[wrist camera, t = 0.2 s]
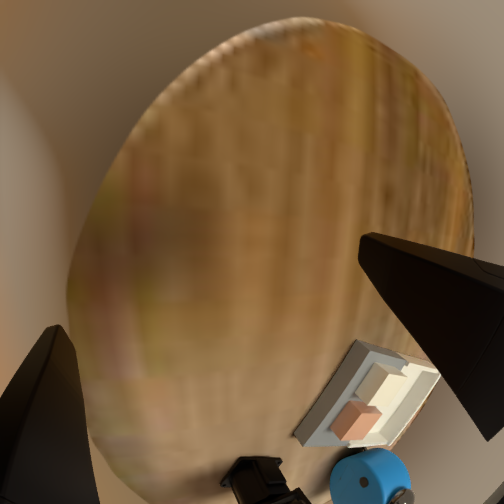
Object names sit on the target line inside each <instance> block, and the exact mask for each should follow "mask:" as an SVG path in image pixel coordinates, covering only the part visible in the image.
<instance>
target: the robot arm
mask: <svg viewBox="0 0 504 504" xmlns="http://www.w3.org/2000/svg"><path fill="white" fill-rule="evenodd" d="M358 261H359V264H360V266H361V267H362V269H363V270H364V272H365V273H366V275H367V276H368V278H369V279H370V281H371V282H372V284H373V285H374V287H375V288H376V290H377V291H378V293H379V294H380V296H381V297H382V298H383V300H384V301H385V303H386V304H387V305H388V306H389V308H390V309H391V310H392V311H393V313H394V314H395V315H396V316H397V318H398V319H399V320H400V321H401V323H402V324H403V325H404V326H405V328H406V329H407V330H408V332H409V333H410V334H411V335H412V337H413V338H414V339H415V341H416V342H417V343H418V345H419V346H420V347H421V348H422V350H423V351H424V352H425V354H426V355H427V356H428V358H429V359H430V360H431V362H432V363H433V364H434V366H435V367H436V369H437V370H438V371H439V373H440V374H441V375H442V377H443V378H444V380H445V381H446V382H447V384H448V385H449V386H450V388H451V389H452V391H453V392H454V394H455V395H456V397H457V398H458V399H459V401H460V402H461V404H462V405H463V407H464V408H465V410H466V411H467V412H468V414H469V416H470V417H471V419H472V420H473V422H474V423H475V425H476V426H477V428H478V429H479V431H480V432H481V434H482V435H483V437H484V438H485V440H486V441H487V442H488V441H489V440H490V439H492V438H493V437H494V436H495V435H496V434H497V433H498V432H499V431H500V430H501V429H502V428H503V427H504V266H500V265H496V264H493V263H489V262H485V261H482V260H478V259H475V258H471V257H467V256H464V255H460V254H457V253H453V252H449V251H446V250H442V249H438V248H434V247H431V246H427V245H423V244H419V243H415V242H411V241H407V240H403V239H399V238H395V237H391V236H387V235H383V234H379V233H375V232H371V233H367V234H364V235H362V236H361V238H360V244H359V253H358ZM282 462H283V461H282V459H281V458H250V457H242V458H239V459H238V461H237V462H236V463H235V465H234V466H233V467H232V468H231V470H230V471H229V472H228V474H227V475H226V476H225V477H224V479H223V480H222V481H221V482H220V486H221V487H231V488H232V490H233V493H234V495H235V497H236V500H237V502H238V504H311V502H310V501H309V500H308V499H307V497H306V496H305V495H304V493H303V492H302V491H301V489H300V488H299V487H298V488H296V489H295V490H293V491H290V490H289V488H288V486H287V485H286V482H287V481H286V479H285V478H284V476H283V474H282V473H281V471H280V469H279V466H280V465H281V463H282ZM0 504H100V501H99V497H98V492H97V487H96V483H95V477H94V472H93V467H92V461H91V455H90V448H89V441H88V434H87V426H86V417H85V407H84V399H83V393H82V388H81V382H80V376H79V370H78V363H77V356H76V351H75V348H74V346H73V344H72V342H71V341H70V339H69V337H68V336H67V334H66V332H65V331H64V329H63V327H62V326H61V325H54V326H50V327H47V328H46V329H45V330H44V332H43V333H42V335H41V336H40V338H39V339H38V340H37V342H36V343H35V345H34V346H33V348H32V349H31V350H30V352H29V353H28V355H27V356H26V358H25V359H24V361H23V363H22V364H21V365H20V367H19V369H18V370H17V371H16V373H15V375H14V376H13V378H12V379H11V381H10V382H9V384H8V386H7V387H6V389H5V391H4V392H3V394H2V396H1V397H0ZM483 504H504V482H503V483H502V484H501V485H500V486H499V487H498V489H497V490H496V491H495V492H494V493H493V494H492V495H491V496H490V497H489V498H488V499H487V500H486V501H485V502H484V503H483Z"/></svg>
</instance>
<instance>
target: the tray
mask: <svg viewBox="0 0 504 504" xmlns="http://www.w3.org/2000/svg"><path fill="white" fill-rule="evenodd" d="M396 353H397V354H399V355H400V356H401V357H403V358H404V359H405V360H407V362H406V363H405V365H404V367H403V368H402V370H401V372H402V373H403V374H405V375H406V376H407V377H408V378H407V380H406V381H405V383H404V384H403V386H402V387H401V389H400V390H399V392H398V393H397V395H396V396H395V397H394V399H393V400H392V402H391V403H390V405H389V406H388V407H385V406H377V407H376V408H377V409H378V410H379V411H380V412H381V413H382V415H381V417H380V418H379V419H378V421H377V422H376V423H375V425H374V426H373V427H372V429H371V430H370V431H369V432H368V434H367V435H366V436H365V437H364V439H363V440H350V442H349V443H348V444H347V445H346V446H347V447H348V448H353V447H365V446H375V445H384V444H386V445H387V446H390V445H391V444H392V443H393V441H394V440H395V439H396V438H397V437H398V435H399V434H400V433H401V431H402V430H403V429H404V428H405V426H406V425H407V424H408V422H409V421H410V420H411V418H412V417H413V416H414V414H415V413H416V412H417V410H418V409H419V407H420V406H421V405H422V403H423V402H424V400H425V399H426V397H427V396H428V395H429V393H430V392H431V390H432V389H433V387H434V386H435V384H436V383H437V381H438V379H439V378H440V376H441V374H440V373H439V371H438V370H437V369H436V367H435V366H434V365H432V364H431V363H430V362H428V361H426V360H422V359H419V358H415V357H412V356H409V355H405V354H402V353H398V352H396Z"/></svg>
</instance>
